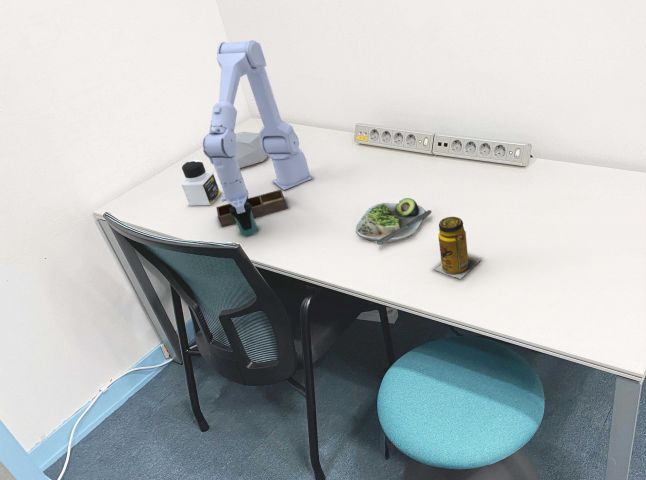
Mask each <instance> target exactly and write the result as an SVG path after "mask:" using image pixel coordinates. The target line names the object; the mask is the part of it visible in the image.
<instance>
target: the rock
mask: <svg viewBox="0 0 646 480" xmlns="http://www.w3.org/2000/svg"><path fill="white" fill-rule="evenodd" d="M259 133H260V132H251V131H240V132H236V133H235V134H236V142H237V150H236V153H235V156H236V159H237V162H238V165H239V168H240V169H241V168H244V167H248V166H252V165H255V164H258V163H261V162H264V161H265V160H266V159H267V158H269V157H268V154H265V153H264V152H263V150H262V148H261V140H260V135H259Z"/></svg>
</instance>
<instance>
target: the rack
mask: <svg viewBox="0 0 646 480" xmlns="http://www.w3.org/2000/svg"><path fill="white" fill-rule="evenodd" d="M282 190H283V189H277V190H274V191H273V190H272V191H270V192H266V193H262V194H259V195H256V196H252V197H248V203H249V204H251V206H252V209H251V211H252V214H253V217H254V219H255V218H258V217H262V216H265V215H269V214H273V213H276V212H280V211H284V210H286V209H288V205H287V202H286V198H285V195H284V192H283V191H282ZM215 208H216V213H217V218H218V222H219V224H220V227H222V228H223V227H226V226H229V225H230V226H231V225H233V224H237V222H236V220H235V217H234V216H233V215H232V214H231V213H230V211H229V208H232V205H231V204H230V203H226V204H223V205H219V206H216V207H215Z"/></svg>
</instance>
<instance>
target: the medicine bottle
mask: <svg viewBox="0 0 646 480" xmlns="http://www.w3.org/2000/svg"><path fill="white" fill-rule="evenodd" d="M181 170H182V172H183V175H184V178H185V180H184V181H183V182H182V183H181V187H182V190H183V192H184V196H185V198H186V201H187V203H188V205H189V206H190V207H191V206H192V207H193V206H212V204H213V203H214V202H215V201H216V200H217V198H218V197H219V196H220V194H221V191H220V188H219V186H218V183H217V180H216V177H215V175H214V172H207V170H206V168H205V165H204V162H203V161H202V160H199V159H192V160H189V161H186V162H185V163H183V164H182V165H181Z"/></svg>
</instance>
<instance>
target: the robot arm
mask: <svg viewBox="0 0 646 480" xmlns="http://www.w3.org/2000/svg"><path fill="white" fill-rule="evenodd" d="M216 61H217V64H218V67H219V68H220V82H219V93H218V94H219V96H218V102H217V103H215V104H214V105H213V107H212V112H211V118H210V124H209V130H208V134H206V135H205V136H204V138H203V140H202V152H203V154H204V155H205V157H207V158H208V159H209V161H210V164H211V165H213V166H214V169H215V172H216V175H217V178H218V180H219V184H220V186H221V188H222V192H223V195H221V196H220V200H221V202H222V203H224V202H227V204H229V203H230V204H231V205H232V206H234V207H232V208H229V211H230V213H231V214H232V215H233V216H234V217H235V218H236V219H237V220H238V222H239V223H240V225H241V227H242V228H243V230H244V231H245V230H248V229H252V224H251V209H252V206H251V204H248V205H244V204H245V202H248V198H249V194H250V192H249V190H248V189H247V187H246V184H245V180H244V178H243V174H242V172H241V168H239V165H238V162H237V159H236V156H235V153H236V150H237V142H236V133H235V129H236V122H237V116H238V115H237V114H238V111H237V109H236V107H235V105H234V104H235V100H236V97H237V92H238V89H239V85H240V80H241V78H242V77H244V76H245V75H246V77H247V80H248V83H249V86H250V89H251V92H252V96H253V98H254V102H255V104H256V107H257V110H258V112H259V116H260V119H261V122H262V125H263V126H262V127H261V129H260V131H259V132H258V133H259V135H260V140H261V148H262V150H263V152H264V153H265V154H268V157H267V158H270V159H271V162H272V165H273V170H274V173H275V176H276V178H275V179H273V183H274V184H275V185H277V186H278V187H279V188H280V189H281V190H283V191H285V190H288V189H291V188H293V187H296V186H298V185H300V184H303V183H306V182H308V181H310V180H312V177H311V174H310V169H309V166H308V162H307V158H306V156H305V154H304V152H303V150H302V149H301V148H300V140H299V137H298V134H296V132H295V130H294V127H293V126H292V125H291V124H289V123H287V122H286V121H284V120H282V117H281V115H280V112H279V108H278V105H277V102H276V99H275V95H274V92H273V89H272V85H271V82H270V79H269V76H268V73H267V70H266V67H267V62H266V58H265V55H264V52H263V49H262V46H261V42H258V41H256V40H254V39H251V40H245V41H243V40H242V41H229V42H226V41H222V42H220V43H219V44H218V46H217V49H216Z"/></svg>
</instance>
